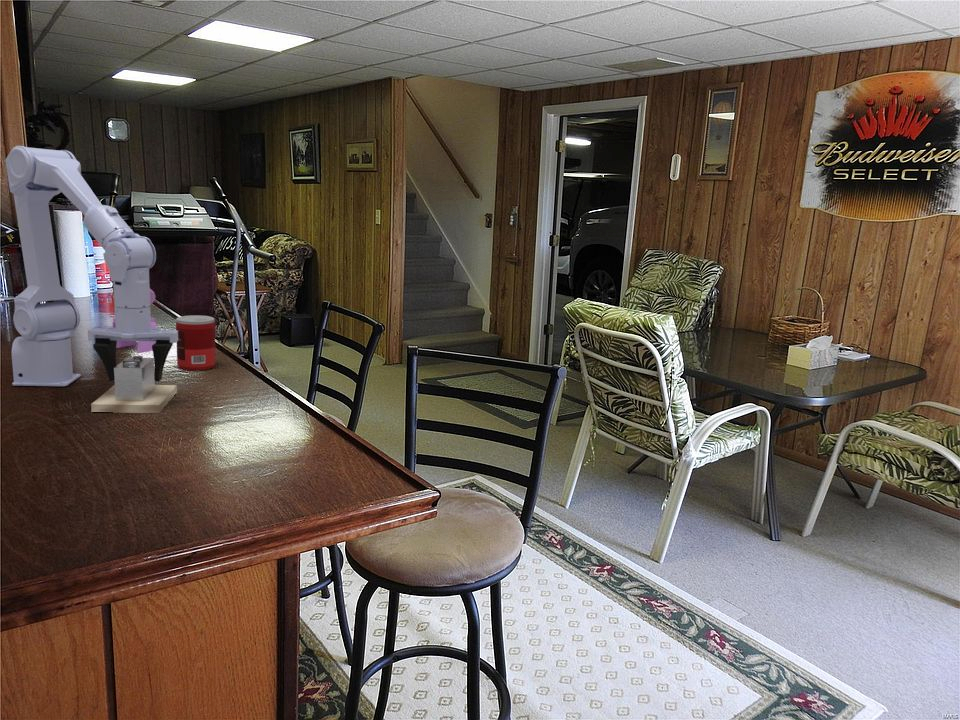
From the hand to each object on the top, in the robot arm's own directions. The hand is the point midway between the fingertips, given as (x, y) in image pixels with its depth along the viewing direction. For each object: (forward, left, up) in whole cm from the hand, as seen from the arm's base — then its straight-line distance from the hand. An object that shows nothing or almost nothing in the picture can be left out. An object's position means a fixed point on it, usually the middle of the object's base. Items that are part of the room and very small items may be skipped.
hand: (135, 379), depth 126 cm
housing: (0, 0, -3) cm, 3 cm away
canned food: (+5, +27, -4) cm, 28 cm away
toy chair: (-12, +44, -4) cm, 46 cm away
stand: (0, 0, -4) cm, 4 cm away
